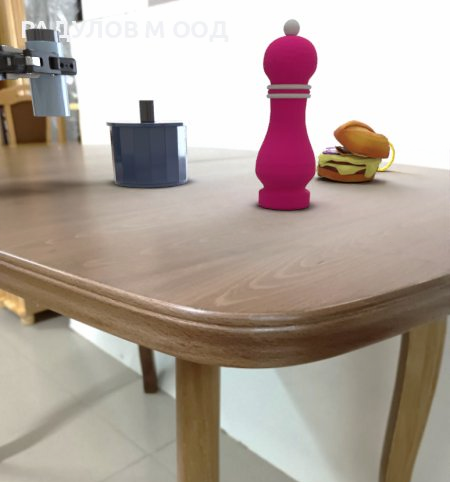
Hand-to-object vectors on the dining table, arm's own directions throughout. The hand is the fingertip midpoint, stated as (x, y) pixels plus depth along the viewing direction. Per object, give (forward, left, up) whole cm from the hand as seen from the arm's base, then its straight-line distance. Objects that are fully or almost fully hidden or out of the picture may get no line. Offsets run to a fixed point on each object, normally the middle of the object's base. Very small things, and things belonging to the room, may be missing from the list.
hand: (61, 67), depth 71 cm
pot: (+11, +6, -16) cm, 20 cm away
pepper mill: (+36, -3, -16) cm, 40 cm away
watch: (+41, +35, -16) cm, 56 cm away
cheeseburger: (+39, +22, -16) cm, 47 cm away
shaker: (0, -3, -6) cm, 7 cm away
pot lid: (+11, +6, -8) cm, 14 cm away
